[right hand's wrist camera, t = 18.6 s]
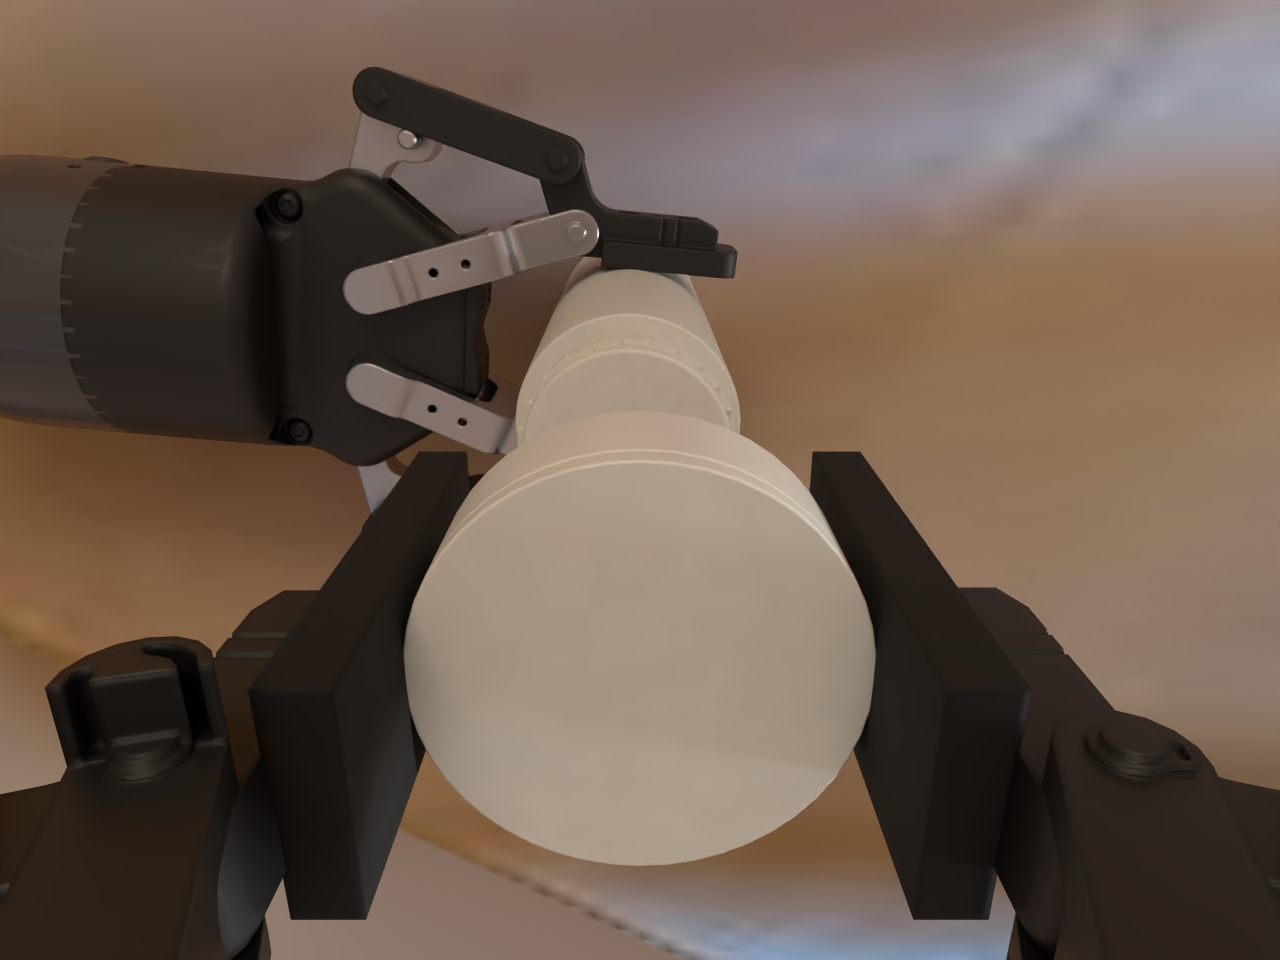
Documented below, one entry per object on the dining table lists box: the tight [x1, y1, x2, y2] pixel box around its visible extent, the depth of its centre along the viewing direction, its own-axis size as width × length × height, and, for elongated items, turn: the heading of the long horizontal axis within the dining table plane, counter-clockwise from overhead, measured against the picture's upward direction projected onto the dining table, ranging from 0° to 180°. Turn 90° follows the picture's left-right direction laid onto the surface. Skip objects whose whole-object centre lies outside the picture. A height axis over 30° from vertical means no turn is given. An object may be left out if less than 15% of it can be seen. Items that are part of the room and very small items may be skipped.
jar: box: [515, 257, 741, 447], centre depth 24 cm, size 5×5×16 cm
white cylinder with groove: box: [403, 411, 876, 866], centre depth 11 cm, size 6×6×2 cm
